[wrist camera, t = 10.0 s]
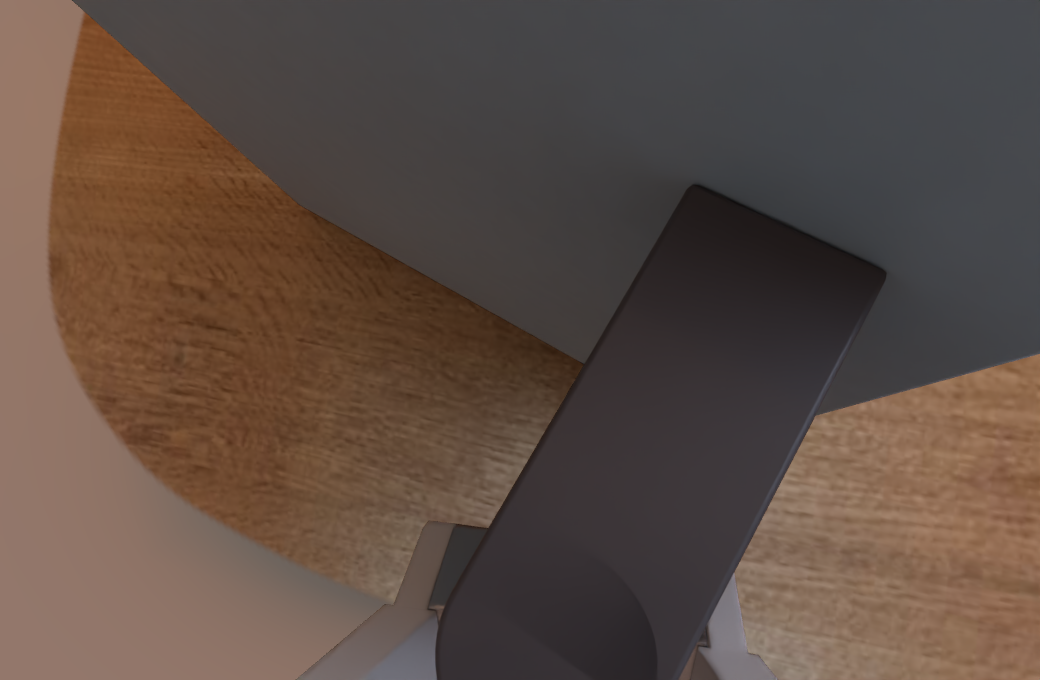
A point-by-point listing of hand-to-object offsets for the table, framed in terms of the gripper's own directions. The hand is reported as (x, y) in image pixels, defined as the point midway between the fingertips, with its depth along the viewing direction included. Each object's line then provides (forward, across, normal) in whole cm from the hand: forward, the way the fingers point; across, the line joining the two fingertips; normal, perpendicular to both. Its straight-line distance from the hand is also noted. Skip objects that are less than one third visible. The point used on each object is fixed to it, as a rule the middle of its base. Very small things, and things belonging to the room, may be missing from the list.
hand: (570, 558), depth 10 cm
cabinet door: (+10, +5, +3) cm, 11 cm away
